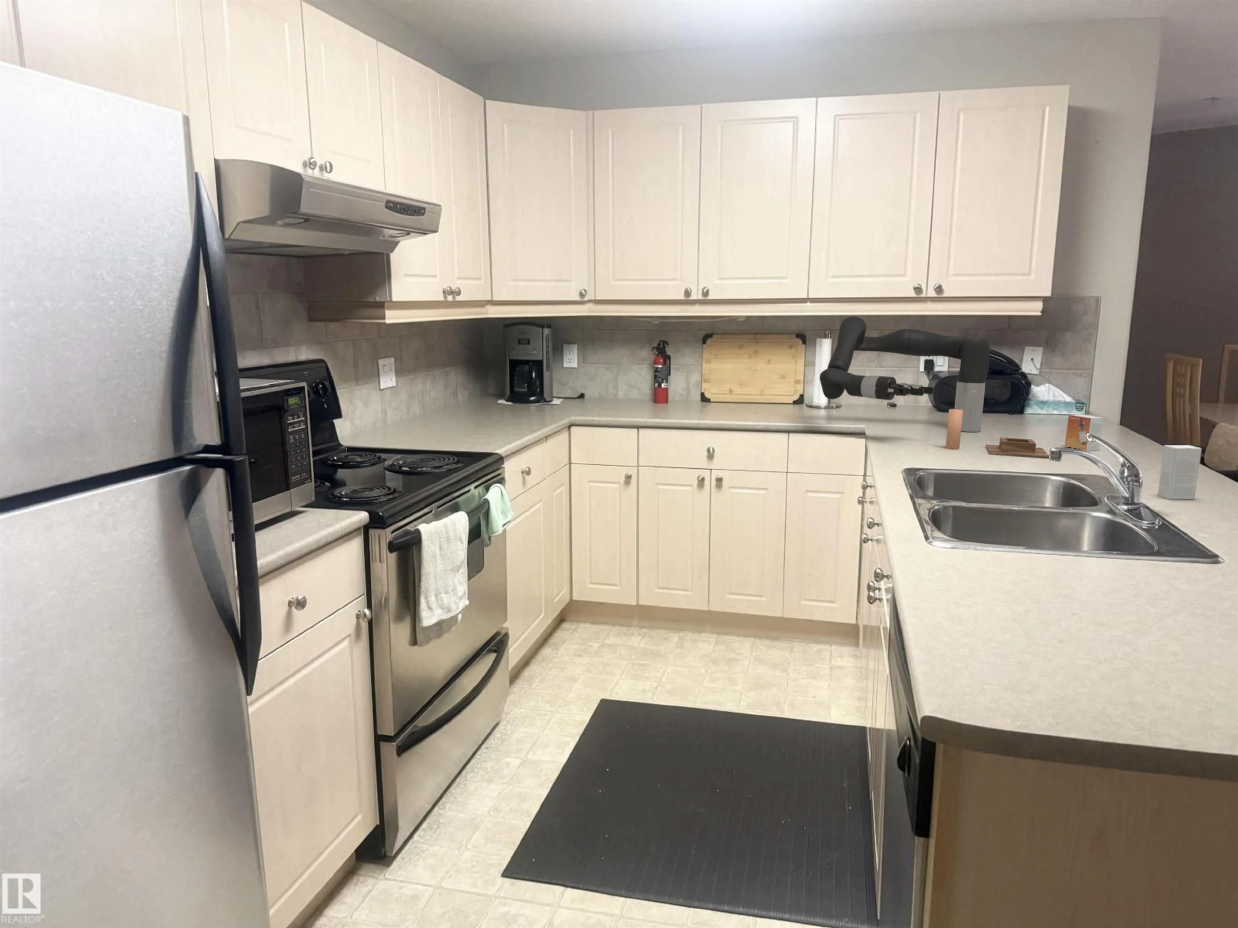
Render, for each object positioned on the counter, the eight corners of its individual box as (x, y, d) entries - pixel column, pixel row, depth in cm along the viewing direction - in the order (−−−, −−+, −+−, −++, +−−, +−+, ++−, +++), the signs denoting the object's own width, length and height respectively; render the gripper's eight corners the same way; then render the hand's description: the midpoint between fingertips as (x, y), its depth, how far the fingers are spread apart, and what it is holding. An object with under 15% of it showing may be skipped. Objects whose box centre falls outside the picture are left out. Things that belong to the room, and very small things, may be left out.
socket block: (985, 446, 252) (986, 435, 252) (1042, 450, 247) (1043, 438, 246) (989, 454, 238) (990, 442, 237) (1049, 458, 232) (1051, 446, 232)
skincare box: (1181, 495, 186) (1189, 445, 184) (1194, 499, 182) (1203, 448, 180) (1155, 495, 186) (1163, 444, 184) (1168, 499, 182) (1176, 447, 180)
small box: (1063, 447, 253) (1067, 414, 251) (1076, 446, 255) (1081, 413, 253) (1086, 451, 246) (1090, 417, 244) (1099, 450, 248) (1104, 417, 246)
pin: (945, 447, 250) (948, 408, 248) (959, 447, 249) (962, 409, 246) (945, 448, 246) (949, 410, 244) (959, 449, 245) (963, 411, 243)
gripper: (886, 397, 266) (935, 402, 255) (868, 400, 255) (918, 405, 245) (888, 375, 264) (938, 378, 254) (870, 376, 254) (921, 380, 243)
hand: (928, 391), depth 249 cm, fingers open, 8 cm apart
